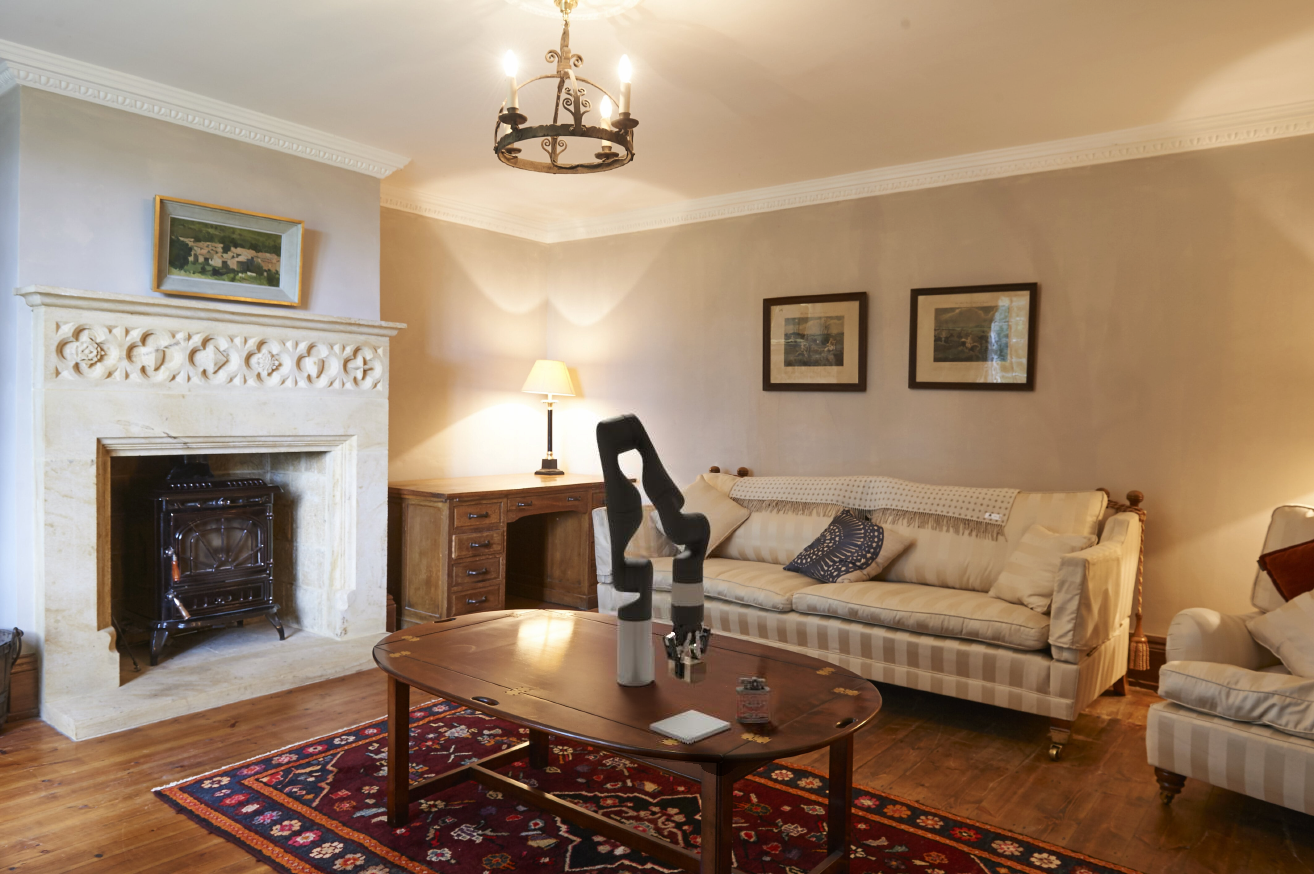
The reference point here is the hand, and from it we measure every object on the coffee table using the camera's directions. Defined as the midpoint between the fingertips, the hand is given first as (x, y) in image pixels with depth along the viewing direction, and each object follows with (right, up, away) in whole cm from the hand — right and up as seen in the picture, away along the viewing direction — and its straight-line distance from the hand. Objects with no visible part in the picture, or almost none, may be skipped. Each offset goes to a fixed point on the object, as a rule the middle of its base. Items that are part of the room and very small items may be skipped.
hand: (686, 675), depth 187 cm
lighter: (+16, -13, +6) cm, 21 cm away
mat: (+1, -12, +1) cm, 12 cm away
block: (0, -1, 0) cm, 1 cm away
